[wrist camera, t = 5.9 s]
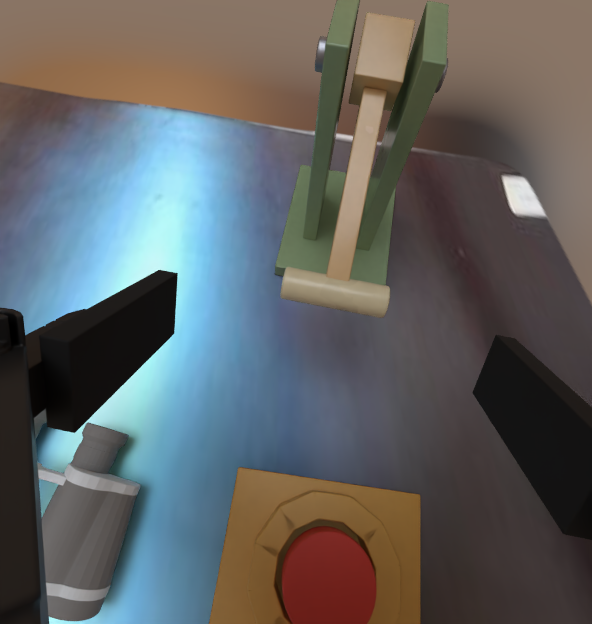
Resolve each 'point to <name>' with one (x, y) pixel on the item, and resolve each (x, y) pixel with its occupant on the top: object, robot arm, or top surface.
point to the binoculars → (84, 524)
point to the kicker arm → (359, 172)
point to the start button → (328, 579)
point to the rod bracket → (390, 161)
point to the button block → (299, 518)
